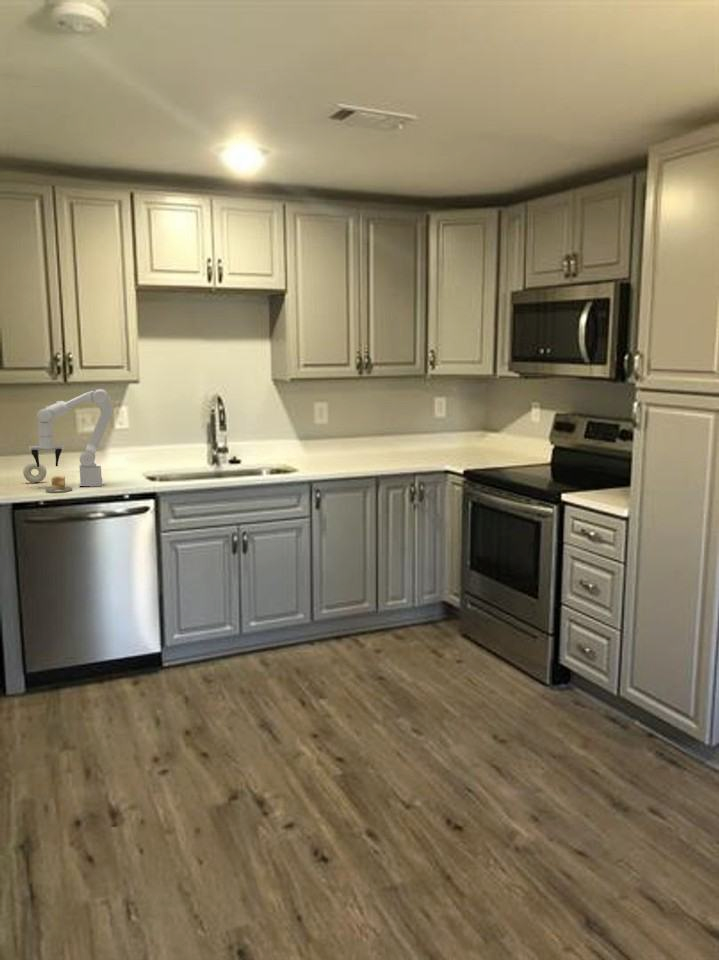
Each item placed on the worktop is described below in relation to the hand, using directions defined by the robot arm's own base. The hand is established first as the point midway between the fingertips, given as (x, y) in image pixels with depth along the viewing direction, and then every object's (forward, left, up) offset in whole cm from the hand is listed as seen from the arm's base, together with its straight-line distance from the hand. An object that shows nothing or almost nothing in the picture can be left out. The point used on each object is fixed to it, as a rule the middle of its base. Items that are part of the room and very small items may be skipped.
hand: (47, 466), depth 353 cm
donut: (+7, -14, -10) cm, 18 cm away
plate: (-5, +11, -9) cm, 15 cm away
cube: (-5, +11, -8) cm, 15 cm away
